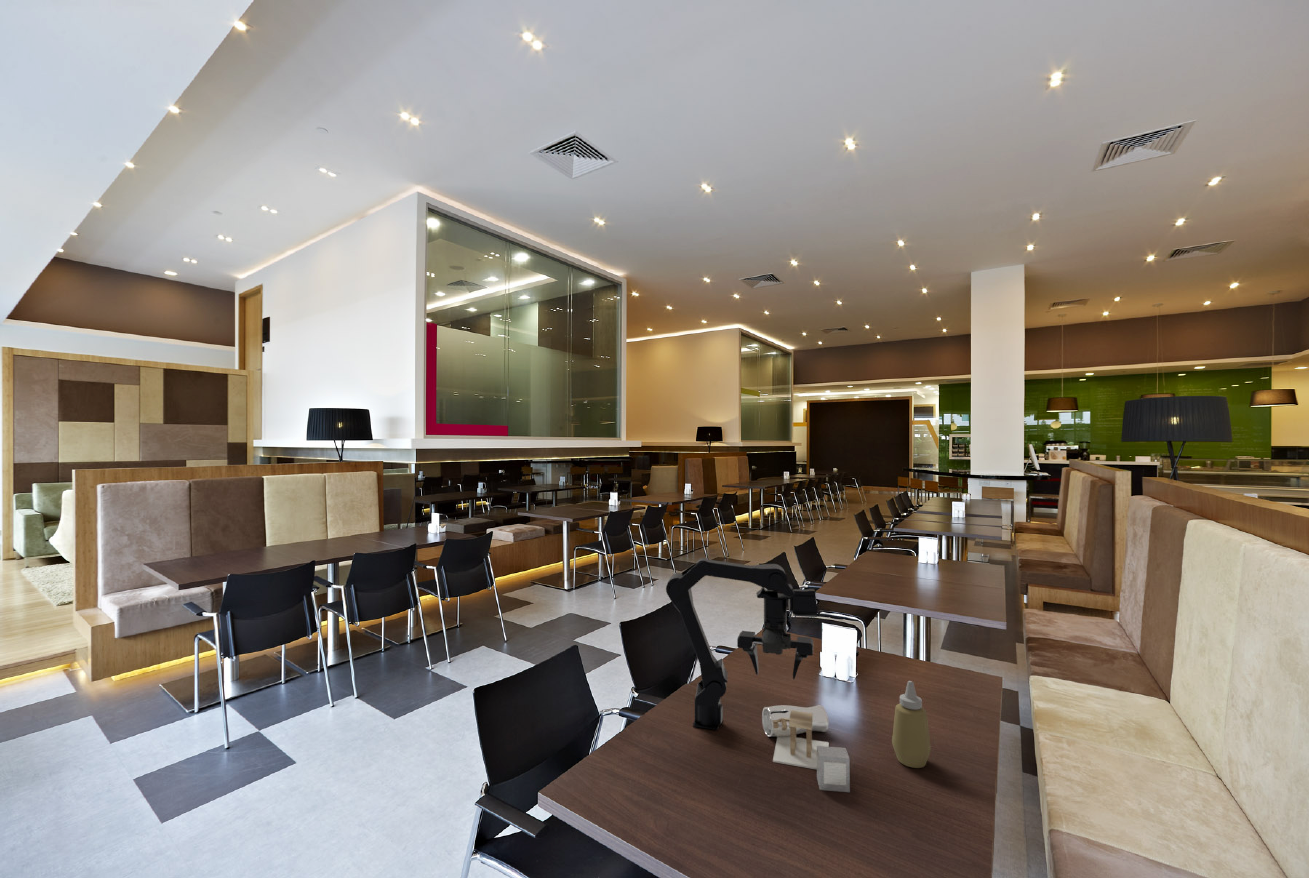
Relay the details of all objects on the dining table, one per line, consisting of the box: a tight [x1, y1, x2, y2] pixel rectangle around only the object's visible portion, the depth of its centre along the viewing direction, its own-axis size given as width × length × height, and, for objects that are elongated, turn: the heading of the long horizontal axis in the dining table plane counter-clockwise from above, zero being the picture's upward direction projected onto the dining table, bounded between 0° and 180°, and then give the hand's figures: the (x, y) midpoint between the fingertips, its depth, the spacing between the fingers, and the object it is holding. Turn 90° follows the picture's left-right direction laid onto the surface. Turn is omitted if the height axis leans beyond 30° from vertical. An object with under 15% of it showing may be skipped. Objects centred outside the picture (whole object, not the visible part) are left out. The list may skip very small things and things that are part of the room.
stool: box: [789, 710, 813, 758], centre depth 129 cm, size 5×5×8 cm
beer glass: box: [761, 704, 829, 738], centre depth 138 cm, size 7×7×15 cm
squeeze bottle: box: [891, 680, 932, 769], centre depth 126 cm, size 8×8×18 cm
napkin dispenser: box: [816, 746, 851, 793], centre depth 116 cm, size 6×4×7 cm
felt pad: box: [772, 736, 830, 770], centre depth 129 cm, size 12×12×1 cm
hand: (775, 676), depth 141 cm, fingers open, 9 cm apart
